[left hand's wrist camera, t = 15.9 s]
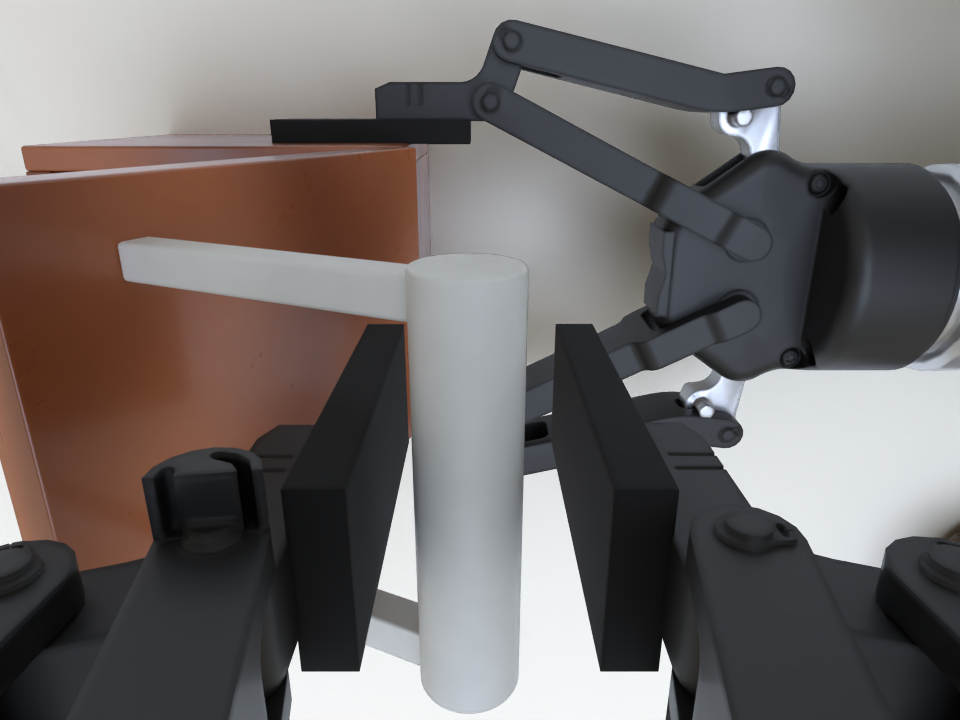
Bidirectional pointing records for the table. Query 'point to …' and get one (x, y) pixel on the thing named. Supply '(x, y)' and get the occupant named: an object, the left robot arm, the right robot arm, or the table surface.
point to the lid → (266, 367)
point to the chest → (203, 158)
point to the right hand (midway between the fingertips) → (296, 269)
